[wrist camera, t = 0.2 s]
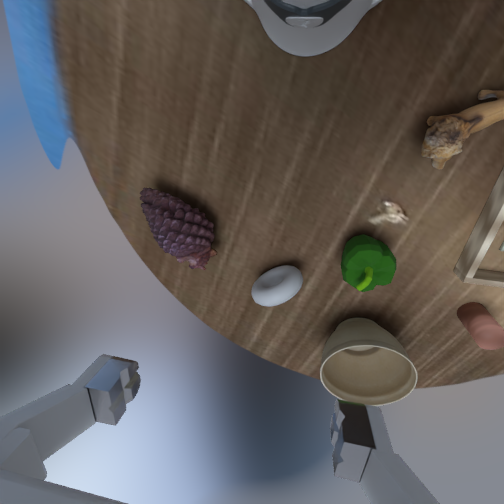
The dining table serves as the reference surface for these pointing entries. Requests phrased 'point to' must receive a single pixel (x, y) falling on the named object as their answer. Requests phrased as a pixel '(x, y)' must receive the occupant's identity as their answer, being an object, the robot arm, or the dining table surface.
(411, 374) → the planter bowl
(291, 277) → the donut
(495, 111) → the lion figurine
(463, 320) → the reddish pink cylinder
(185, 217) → the pine cone
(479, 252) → the corral
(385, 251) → the bell pepper
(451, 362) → the dining table surface
